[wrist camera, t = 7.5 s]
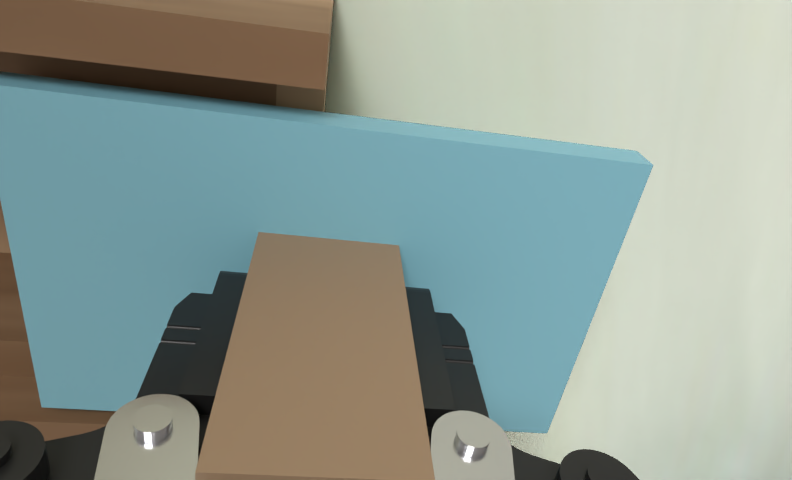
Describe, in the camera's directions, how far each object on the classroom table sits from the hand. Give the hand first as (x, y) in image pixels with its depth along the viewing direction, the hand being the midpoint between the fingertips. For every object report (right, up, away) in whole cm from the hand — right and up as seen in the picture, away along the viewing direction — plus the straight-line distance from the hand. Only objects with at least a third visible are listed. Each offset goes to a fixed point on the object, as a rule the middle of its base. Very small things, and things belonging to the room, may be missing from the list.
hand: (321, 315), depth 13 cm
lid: (0, +1, +1) cm, 2 cm away
